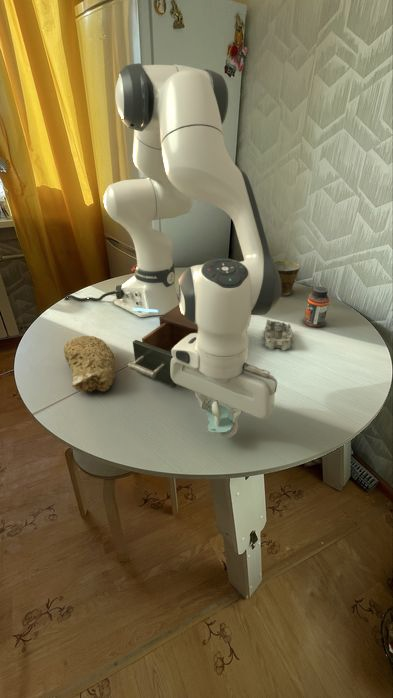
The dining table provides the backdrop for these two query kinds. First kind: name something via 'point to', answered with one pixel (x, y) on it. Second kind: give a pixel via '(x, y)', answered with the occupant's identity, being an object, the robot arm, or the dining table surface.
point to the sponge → (90, 363)
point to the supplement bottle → (317, 307)
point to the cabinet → (178, 319)
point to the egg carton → (277, 335)
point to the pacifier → (220, 420)
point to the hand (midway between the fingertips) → (219, 413)
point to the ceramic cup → (287, 275)
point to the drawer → (158, 352)
